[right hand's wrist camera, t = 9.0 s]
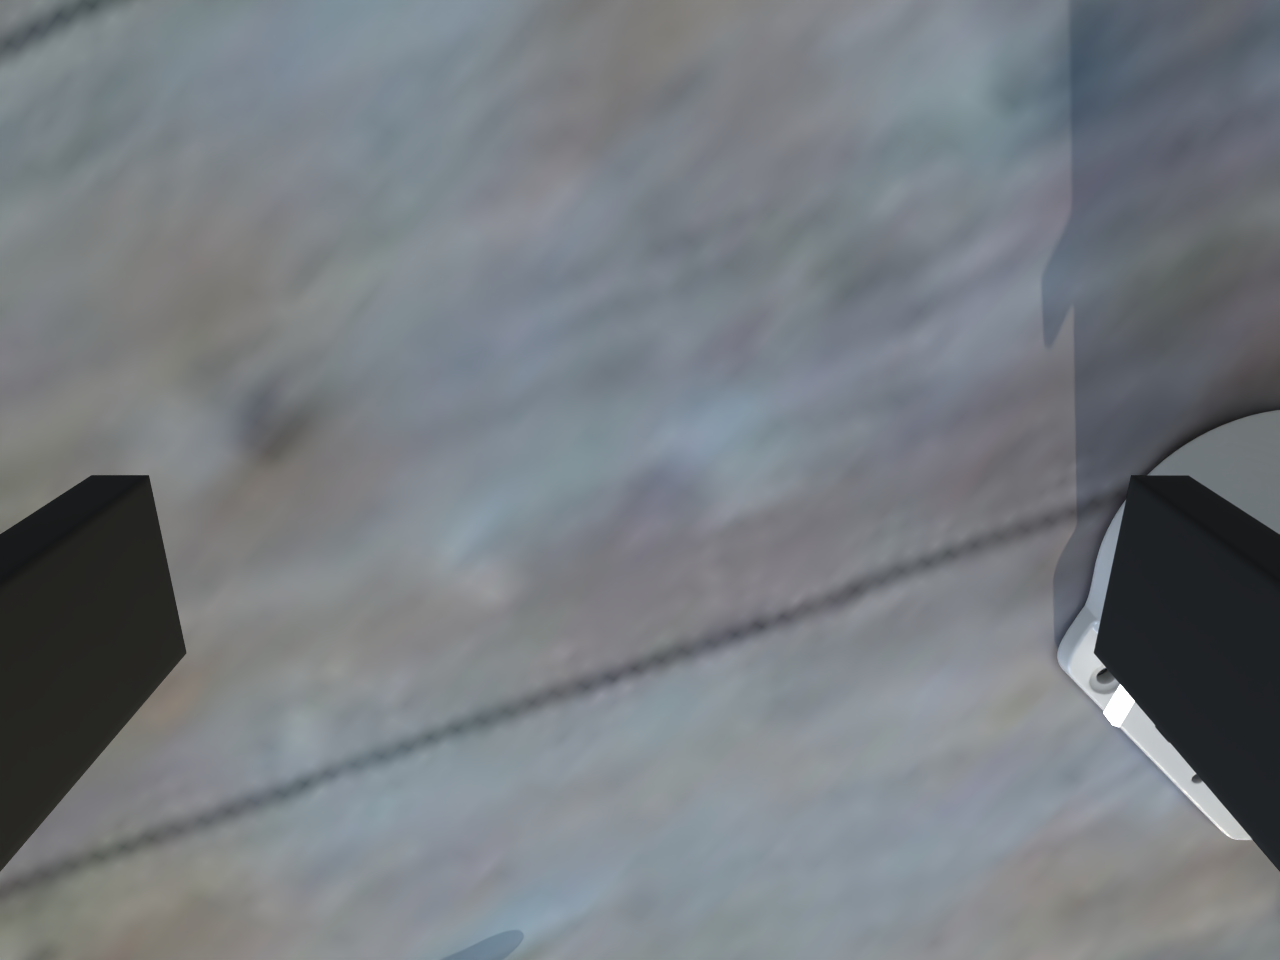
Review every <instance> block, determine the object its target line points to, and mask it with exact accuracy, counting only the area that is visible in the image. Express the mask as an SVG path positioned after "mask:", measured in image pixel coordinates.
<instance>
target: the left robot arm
mask: <svg viewBox="0 0 1280 960" xmlns="http://www.w3.org/2000/svg"><path fill="white" fill-rule="evenodd" d="M1148 475H1189V476H1190V477H1192V478H1193V479H1195V480H1196V481H1198V482H1199V483H1201V484H1203V485H1204V486H1206V487H1207V488H1209V489H1210V490H1212V491H1213V492H1215V493H1216V494H1218V495H1220V496H1221V497H1223V498H1224V499H1226V500H1227V501H1229V502H1230V503H1232V504H1233V505H1235V506H1237V507H1238V508H1240V509H1241V510H1243V511H1244V512H1246V513H1247V514H1249V515H1250V516H1252V517H1254V518H1255V519H1257V520H1258V521H1260V522H1261V523H1263V524H1264V525H1266V526H1267V527H1269V528H1271V529H1272V530H1274V531H1275V532H1277V533H1278V534H1280V410H1274V411H1269V412H1263V413H1259V414H1255V415H1251V416H1247V417H1244V418H1241V419H1237V420H1234V421H1232V422H1229V423H1227V424H1224V425H1221V426H1219V427H1217V428H1215V429H1213V430H1210V431H1208V432H1206V433H1205V434H1203V435H1201V436H1199V437H1197V438H1195V439H1194V440H1192V441H1190V442H1189V443H1187V444H1185V445H1184V446H1182V447H1181V448H1179V449H1178V450H1176V451H1175V452H1174V453H1172V454H1171V455H1170V456H1168V457H1167V458H1166V459H1164V460H1163V461H1162V462H1161V463H1160V464H1159V465H1157V466H1156V467H1155V468H1154V469H1153V470H1152V471H1151V472H1150V473H1149V474H1148ZM1125 502H1126V500H1125V501H1124V503H1123V504H1122V506H1121V507H1120V508H1119V510H1118V512H1117V513H1116V515H1115V516H1114V518H1113V520H1112V522H1111V524H1110V526H1109V528H1108V530H1107V532H1106V534H1105V536H1104V539H1103V541H1102V544H1101V546H1100V549H1099V552H1098V556H1097V559H1096V563H1095V568H1094V573H1093V578H1092V583H1091V588H1090V592H1089V595H1088V598H1087V601H1086V604H1085V606H1084V607H1083V608H1082V610H1081V611H1080V613H1079V614H1078V616H1077V617H1076V618H1075V620H1074V621H1073V623H1072V624H1071V626H1070V627H1069V629H1068V630H1067V632H1066V634H1065V635H1064V637H1063V639H1062V641H1061V643H1060V645H1059V648H1058V652H1057V659H1058V663H1059V665H1060V666H1061V668H1062V669H1063V670H1064V671H1065V672H1066V673H1067V674H1068V675H1069V676H1070V677H1071V678H1072V679H1073V680H1074V682H1075V683H1076V684H1077V685H1078V686H1079V687H1080V688H1081V689H1082V690H1083V691H1084V692H1085V693H1086V694H1087V695H1088V696H1089V697H1090V698H1091V699H1092V700H1093V701H1094V702H1095V703H1096V704H1097V705H1098V706H1099V707H1100V708H1101V709H1102V710H1103V711H1104V715H1105V716H1106V717H1107V718H1108V720H1109V721H1110V722H1111V724H1112V725H1114V726H1118V727H1119V728H1120V729H1121V730H1122V731H1123V732H1124V733H1125V734H1126V735H1127V736H1128V737H1129V738H1130V739H1131V740H1132V741H1133V742H1134V743H1135V744H1136V745H1137V746H1138V747H1139V748H1140V749H1141V750H1142V751H1143V752H1144V753H1145V754H1146V755H1147V756H1148V757H1149V758H1150V759H1151V760H1152V761H1153V762H1154V763H1155V764H1156V765H1157V766H1158V767H1159V768H1160V770H1161V771H1162V772H1163V773H1164V774H1165V775H1166V776H1167V777H1168V778H1169V779H1170V780H1171V781H1172V782H1173V783H1174V784H1175V785H1176V786H1177V787H1178V788H1179V789H1180V790H1181V791H1182V792H1183V793H1184V794H1185V795H1186V796H1187V797H1188V798H1189V799H1190V800H1191V801H1192V802H1193V803H1194V804H1195V805H1196V806H1197V807H1198V808H1199V809H1200V810H1201V811H1202V812H1203V813H1204V814H1205V815H1206V816H1207V817H1208V818H1209V819H1210V820H1211V821H1212V822H1213V823H1214V824H1215V825H1216V826H1217V827H1218V828H1219V829H1220V830H1221V831H1222V832H1223V833H1224V834H1225V835H1227V836H1228V837H1230V838H1232V839H1237V840H1252V838H1251V837H1250V836H1249V835H1248V834H1247V833H1246V831H1245V830H1244V829H1243V828H1242V827H1241V826H1240V824H1239V823H1238V822H1237V821H1236V820H1235V818H1234V817H1233V816H1232V815H1231V814H1230V813H1229V811H1228V810H1227V809H1226V808H1225V807H1224V806H1223V804H1222V803H1221V802H1220V801H1219V800H1218V799H1217V797H1216V796H1215V795H1214V794H1213V793H1212V791H1211V790H1210V789H1209V788H1208V787H1207V786H1206V784H1205V783H1204V782H1203V781H1202V780H1201V779H1200V777H1199V776H1198V775H1197V774H1196V773H1195V772H1194V770H1193V769H1192V768H1191V767H1190V766H1189V764H1188V763H1187V762H1186V761H1185V760H1184V759H1183V757H1182V756H1181V755H1180V754H1179V753H1178V752H1177V750H1176V749H1175V748H1174V747H1173V746H1172V745H1171V743H1170V742H1169V741H1168V740H1167V739H1166V737H1165V736H1164V735H1163V734H1162V733H1161V732H1160V730H1159V729H1158V728H1157V727H1156V726H1155V725H1154V723H1153V722H1152V721H1151V720H1150V719H1149V718H1148V716H1147V715H1146V714H1145V713H1144V712H1143V710H1142V709H1141V708H1140V707H1139V706H1138V705H1137V703H1136V702H1135V701H1134V700H1133V699H1132V698H1131V696H1130V695H1129V694H1128V693H1127V692H1126V691H1125V689H1124V688H1123V687H1122V686H1121V685H1120V683H1119V682H1118V681H1117V680H1116V679H1115V678H1114V676H1113V675H1112V674H1111V673H1110V672H1109V671H1108V669H1107V670H1106V671H1105V672H1104V673H1103V674H1101V675H1097V674H1098V672H1099V671H1101V670H1102V669H1104V668H1106V667H1105V666H1104V665H1103V664H1102V662H1101V661H1100V660H1099V659H1098V658H1097V656H1096V655H1095V654H1094V649H1095V644H1096V639H1097V635H1098V630H1099V625H1100V620H1101V616H1102V611H1103V606H1104V601H1105V597H1106V592H1107V587H1108V582H1109V578H1110V573H1111V568H1112V564H1113V559H1114V554H1115V549H1116V545H1117V540H1118V535H1119V530H1120V526H1121V521H1122V516H1123V512H1124V507H1125Z"/></svg>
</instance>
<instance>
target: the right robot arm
mask: <svg viewBox="0 0 1280 960" xmlns="http://www.w3.org/2000/svg"><path fill="white" fill-rule="evenodd" d="M185 654H186V649H185V644H184V639H183V635H182V630H181V625H180V620H179V616H178V611H177V606H176V601H175V597H174V592H173V587H172V582H171V578H170V573H169V568H168V564H167V559H166V554H165V549H164V545H163V540H162V535H161V530H160V526H159V521H158V516H157V512H156V507H155V502H154V497H153V493H152V488H151V483H150V478H149V475H91V476H90V477H88V478H87V479H85V480H84V481H82V482H81V483H79V484H77V485H76V486H74V487H73V488H71V489H70V490H68V491H67V492H65V493H64V494H62V495H60V496H59V497H57V498H56V499H54V500H53V501H51V502H50V503H48V504H47V505H45V506H43V507H42V508H40V509H39V510H37V511H36V512H34V513H33V514H31V515H30V516H28V517H26V518H25V519H23V520H22V521H20V522H19V523H17V524H16V525H14V526H13V527H11V528H9V529H8V530H6V531H5V532H3V533H2V534H0V871H1V870H2V869H3V868H4V867H5V865H6V864H7V863H8V862H9V861H10V860H11V858H12V857H13V856H14V855H15V854H16V853H17V851H18V850H19V849H20V848H21V847H22V845H23V844H24V843H25V842H26V841H27V840H28V838H29V837H30V836H31V835H32V834H33V833H34V831H35V830H36V829H37V828H38V827H39V826H40V824H41V823H42V822H43V821H44V820H45V818H46V817H47V816H48V815H49V814H50V813H51V811H52V810H53V809H54V808H55V807H56V806H57V804H58V803H59V802H60V801H61V800H62V799H63V797H64V796H65V795H66V794H67V793H68V791H69V790H70V789H71V788H72V787H73V786H74V784H75V783H76V782H77V781H78V780H79V779H80V777H81V776H82V775H83V774H84V773H85V772H86V770H87V769H88V768H89V767H90V766H91V764H92V763H93V762H94V761H95V760H96V759H97V757H98V756H99V755H100V754H101V753H102V752H103V750H104V749H105V748H106V747H107V746H108V745H109V743H110V742H111V741H112V740H113V739H114V737H115V736H116V735H117V734H118V733H119V732H120V730H121V729H122V728H123V727H124V726H125V725H126V723H127V722H128V721H129V720H130V719H131V718H132V716H133V715H134V714H135V713H136V712H137V710H138V709H139V708H140V707H141V706H142V705H143V703H144V702H145V701H146V700H147V699H148V698H149V696H150V695H151V694H152V693H153V692H154V691H155V689H156V688H157V687H158V686H159V685H160V683H161V682H162V681H163V680H164V679H165V678H166V676H167V675H168V674H169V673H170V672H171V671H172V669H173V668H174V667H175V666H176V665H177V664H178V662H179V661H180V660H181V659H182V658H183V656H184V655H185ZM1094 654H1095V655H1096V656H1097V658H1098V659H1099V660H1100V661H1101V662H1102V664H1103V665H1104V666H1105V667H1106V668H1107V669H1108V671H1109V672H1110V673H1111V674H1112V675H1113V676H1114V678H1115V679H1116V680H1117V681H1118V682H1119V683H1120V685H1121V686H1122V687H1123V688H1124V689H1125V691H1126V692H1127V693H1128V694H1129V695H1130V696H1131V698H1132V699H1133V700H1134V701H1135V702H1136V703H1137V705H1138V706H1139V707H1140V708H1141V709H1142V710H1143V712H1144V713H1145V714H1146V715H1147V716H1148V718H1149V719H1150V720H1151V721H1152V722H1153V723H1154V725H1155V726H1156V727H1157V728H1158V729H1159V730H1160V732H1161V733H1162V734H1163V735H1164V736H1165V737H1166V739H1167V740H1168V741H1169V742H1170V743H1171V745H1172V746H1173V747H1174V748H1175V749H1176V750H1177V752H1178V753H1179V754H1180V755H1181V756H1182V757H1183V759H1184V760H1185V761H1186V762H1187V763H1188V764H1189V766H1190V767H1191V768H1192V769H1193V770H1194V772H1195V773H1196V774H1197V775H1198V776H1199V777H1200V779H1201V780H1202V781H1203V782H1204V783H1205V784H1206V786H1207V787H1208V788H1209V789H1210V790H1211V791H1212V793H1213V794H1214V795H1215V796H1216V797H1217V799H1218V800H1219V801H1220V802H1221V803H1222V804H1223V806H1224V807H1225V808H1226V809H1227V810H1228V811H1229V813H1230V814H1231V815H1232V816H1233V817H1234V818H1235V820H1236V821H1237V822H1238V823H1239V824H1240V826H1241V827H1242V828H1243V829H1244V830H1245V831H1246V833H1247V834H1248V835H1249V836H1250V837H1251V838H1252V840H1253V841H1254V842H1255V843H1256V844H1257V845H1258V847H1259V848H1260V849H1261V850H1262V851H1263V853H1264V854H1265V855H1266V856H1267V857H1268V858H1269V860H1270V861H1271V862H1272V863H1273V864H1274V865H1275V867H1276V868H1277V869H1278V870H1279V871H1280V534H1278V533H1277V532H1275V531H1274V530H1272V529H1271V528H1269V527H1267V526H1266V525H1264V524H1263V523H1261V522H1260V521H1258V520H1257V519H1255V518H1254V517H1252V516H1250V515H1249V514H1247V513H1246V512H1244V511H1243V510H1241V509H1240V508H1238V507H1237V506H1235V505H1233V504H1232V503H1230V502H1229V501H1227V500H1226V499H1224V498H1223V497H1221V496H1220V495H1218V494H1216V493H1215V492H1213V491H1212V490H1210V489H1209V488H1207V487H1206V486H1204V485H1203V484H1201V483H1199V482H1198V481H1196V480H1195V479H1193V478H1192V477H1190V476H1189V475H1131V478H1130V483H1129V488H1128V493H1127V497H1126V502H1125V507H1124V512H1123V516H1122V521H1121V526H1120V530H1119V535H1118V540H1117V545H1116V549H1115V554H1114V559H1113V564H1112V568H1111V573H1110V578H1109V582H1108V587H1107V592H1106V597H1105V601H1104V606H1103V611H1102V616H1101V620H1100V625H1099V630H1098V635H1097V639H1096V644H1095V649H1094Z"/></svg>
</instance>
